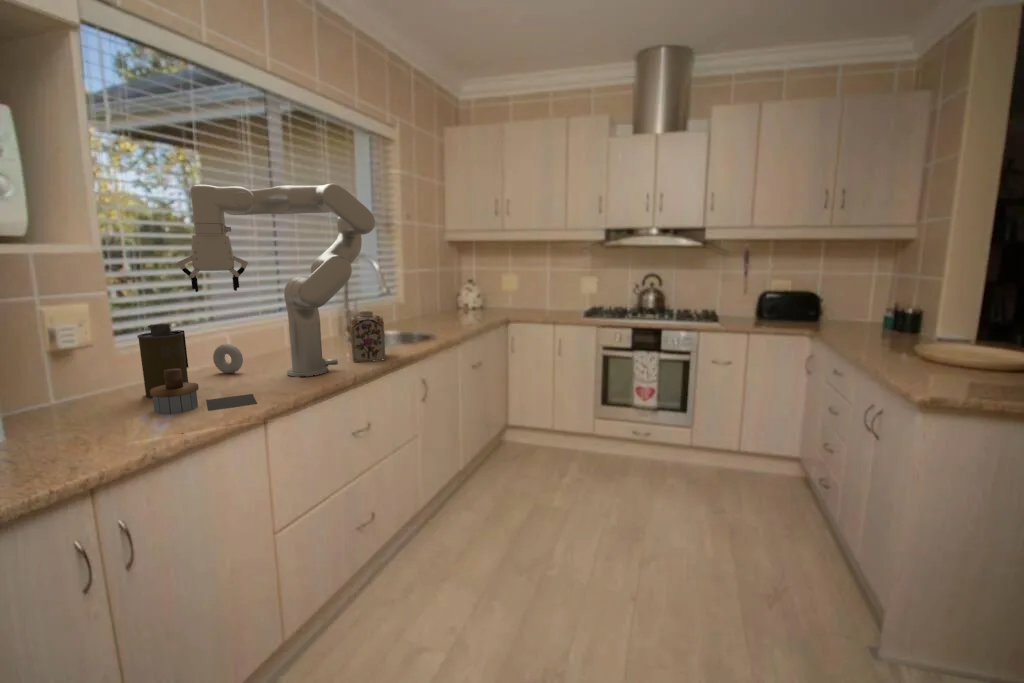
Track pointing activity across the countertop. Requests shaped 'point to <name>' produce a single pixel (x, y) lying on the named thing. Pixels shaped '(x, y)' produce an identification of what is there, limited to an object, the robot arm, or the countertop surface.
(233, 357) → the donut
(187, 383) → the lid
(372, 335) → the decorative jar
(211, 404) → the mat
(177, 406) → the grey short cylinder
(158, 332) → the canister
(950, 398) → the countertop surface
